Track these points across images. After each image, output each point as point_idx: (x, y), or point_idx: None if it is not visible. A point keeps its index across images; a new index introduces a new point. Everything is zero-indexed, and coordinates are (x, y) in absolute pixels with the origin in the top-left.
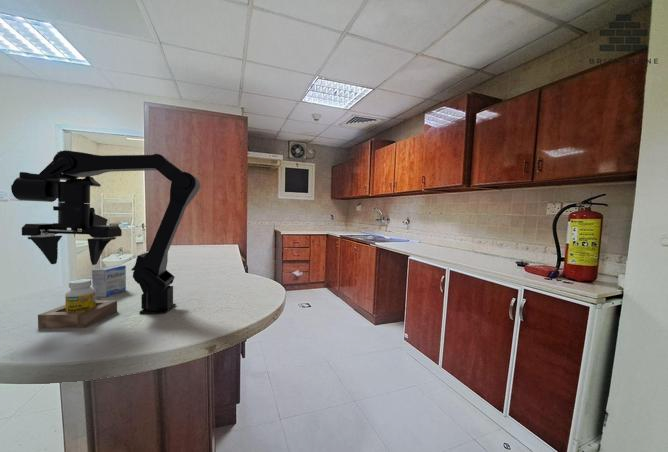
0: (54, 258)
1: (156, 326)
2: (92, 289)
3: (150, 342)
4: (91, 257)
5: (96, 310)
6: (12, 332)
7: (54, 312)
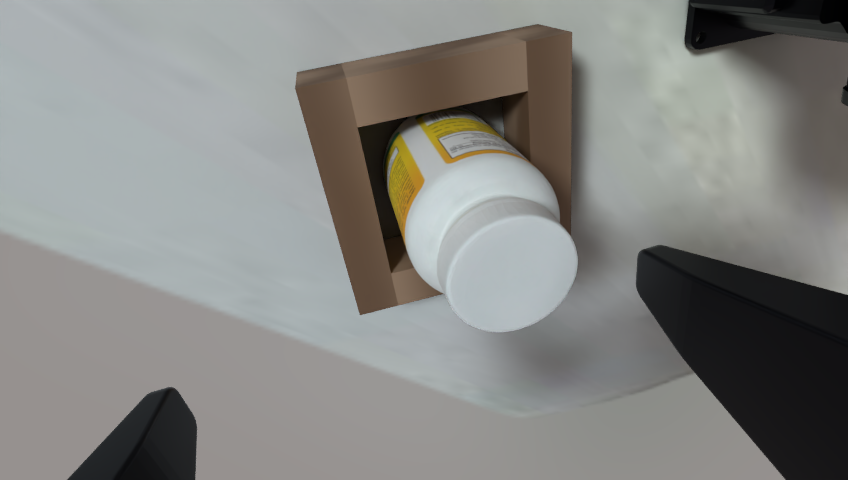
0: (170, 474)
1: (805, 164)
2: (557, 211)
3: (816, 267)
4: (725, 384)
5: (569, 201)
6: (305, 325)
7: (401, 276)
